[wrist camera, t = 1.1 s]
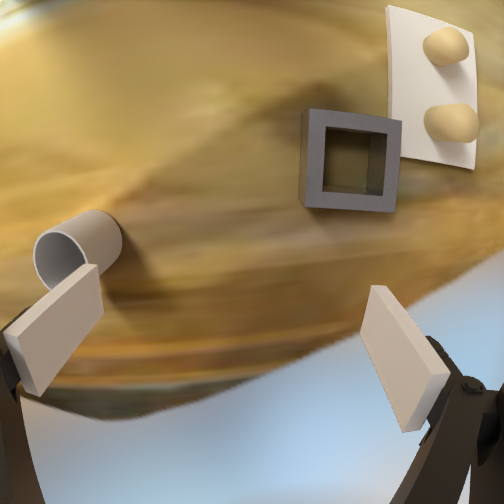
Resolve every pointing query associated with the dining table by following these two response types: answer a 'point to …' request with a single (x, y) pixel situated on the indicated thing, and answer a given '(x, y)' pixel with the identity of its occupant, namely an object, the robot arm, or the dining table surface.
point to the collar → (379, 165)
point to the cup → (77, 246)
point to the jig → (432, 87)
